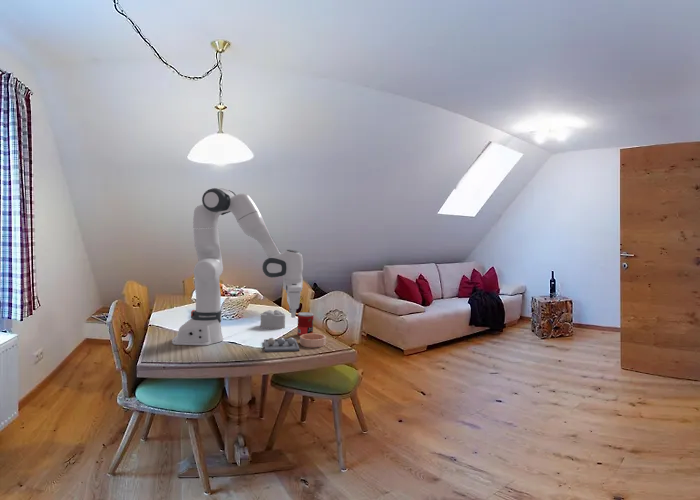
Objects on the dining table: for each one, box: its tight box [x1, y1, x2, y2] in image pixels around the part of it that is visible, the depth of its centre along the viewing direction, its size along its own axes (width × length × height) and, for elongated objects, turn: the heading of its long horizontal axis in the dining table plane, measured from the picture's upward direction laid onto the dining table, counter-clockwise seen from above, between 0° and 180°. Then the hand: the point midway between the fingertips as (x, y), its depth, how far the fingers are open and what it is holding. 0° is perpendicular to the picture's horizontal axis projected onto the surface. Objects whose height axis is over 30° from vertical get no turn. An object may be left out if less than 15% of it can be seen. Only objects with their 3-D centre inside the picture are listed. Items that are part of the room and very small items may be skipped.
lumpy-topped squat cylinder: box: [259, 309, 286, 330], centre depth 227 cm, size 10×13×9 cm
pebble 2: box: [277, 337, 286, 345], centre depth 190 cm, size 3×3×3 cm
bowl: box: [299, 332, 327, 349], centre depth 196 cm, size 12×12×4 cm
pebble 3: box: [287, 337, 295, 345], centre depth 191 cm, size 3×3×3 cm
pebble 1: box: [268, 337, 275, 345], centre depth 189 cm, size 3×3×3 cm
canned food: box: [297, 311, 315, 337], centre depth 212 cm, size 8×8×11 cm
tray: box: [263, 338, 300, 353], centre depth 190 cm, size 15×16×1 cm
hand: (292, 315), depth 191 cm, fingers open, 8 cm apart
